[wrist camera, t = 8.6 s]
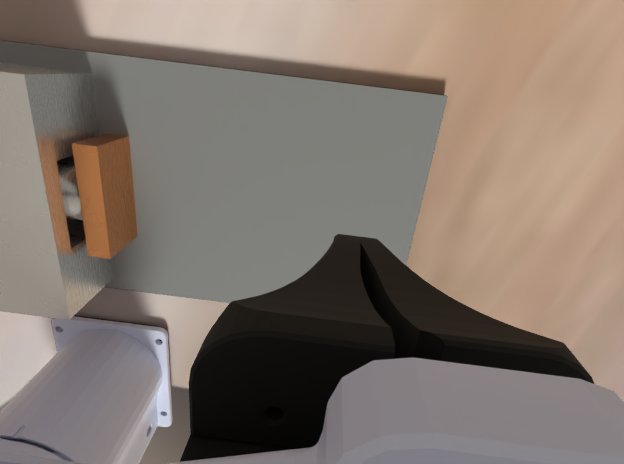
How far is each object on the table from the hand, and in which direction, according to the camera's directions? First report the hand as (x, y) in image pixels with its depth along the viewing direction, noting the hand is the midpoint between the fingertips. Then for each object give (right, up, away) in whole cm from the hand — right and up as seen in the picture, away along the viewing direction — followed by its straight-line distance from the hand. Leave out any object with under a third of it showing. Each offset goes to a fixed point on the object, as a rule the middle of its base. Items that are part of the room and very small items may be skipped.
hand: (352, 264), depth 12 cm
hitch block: (-16, +4, +10) cm, 19 cm away
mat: (-8, +3, +10) cm, 13 cm away
